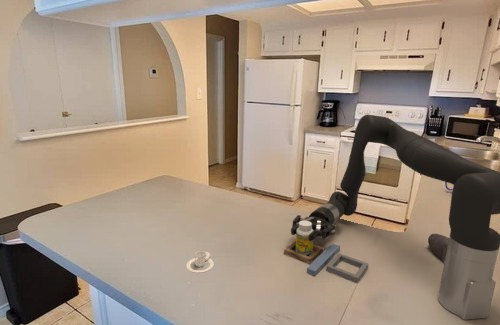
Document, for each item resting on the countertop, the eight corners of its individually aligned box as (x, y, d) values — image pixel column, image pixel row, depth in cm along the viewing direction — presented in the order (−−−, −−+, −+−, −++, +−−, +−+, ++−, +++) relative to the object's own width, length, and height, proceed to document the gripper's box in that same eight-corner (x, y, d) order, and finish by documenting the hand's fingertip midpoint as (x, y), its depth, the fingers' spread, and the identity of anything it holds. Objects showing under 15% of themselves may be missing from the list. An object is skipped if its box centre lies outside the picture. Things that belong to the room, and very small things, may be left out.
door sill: (332, 247, 99) (332, 243, 98) (339, 250, 97) (340, 245, 97) (306, 272, 85) (307, 268, 85) (314, 276, 83) (315, 271, 83)
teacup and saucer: (203, 254, 94) (203, 242, 93) (221, 264, 89) (221, 251, 88) (180, 266, 88) (180, 254, 87) (198, 277, 83) (198, 264, 82)
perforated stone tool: (420, 245, 101) (424, 226, 99) (436, 245, 101) (439, 226, 100) (452, 272, 86) (457, 250, 85) (470, 272, 87) (475, 250, 85)
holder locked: (322, 251, 96) (323, 247, 96) (309, 264, 89) (310, 259, 89) (298, 242, 101) (298, 238, 101) (283, 253, 95) (284, 249, 94)
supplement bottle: (314, 249, 96) (316, 221, 94) (309, 257, 92) (311, 228, 89) (298, 244, 99) (300, 218, 96) (292, 252, 94) (294, 224, 92)
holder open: (368, 268, 88) (368, 263, 87) (357, 283, 81) (358, 278, 80) (338, 257, 93) (338, 253, 93) (326, 270, 86) (326, 265, 86)
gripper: (306, 202, 108) (281, 217, 95) (345, 212, 99) (323, 230, 86) (305, 221, 110) (280, 239, 97) (343, 233, 101) (322, 254, 88)
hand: (301, 235), depth 92 cm, fingers closed on supplement bottle, 5 cm apart
